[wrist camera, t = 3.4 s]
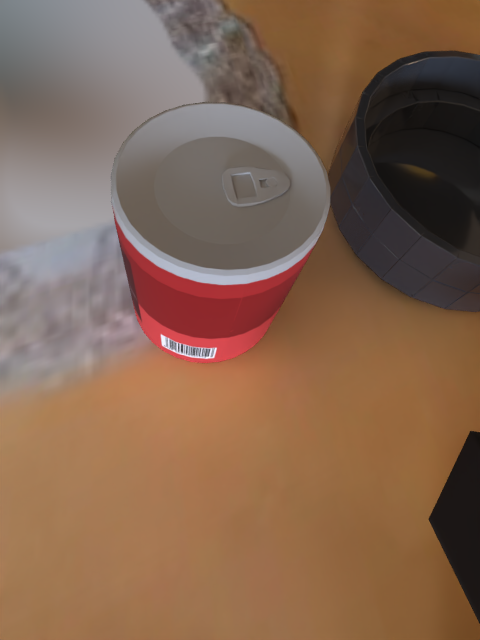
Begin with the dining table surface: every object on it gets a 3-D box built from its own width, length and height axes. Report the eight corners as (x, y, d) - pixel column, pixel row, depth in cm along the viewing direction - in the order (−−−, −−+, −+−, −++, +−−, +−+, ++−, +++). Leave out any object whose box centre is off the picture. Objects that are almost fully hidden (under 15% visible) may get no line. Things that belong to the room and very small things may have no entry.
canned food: (295, 331, 26) (373, 226, 16) (170, 393, 24) (167, 315, 14) (234, 228, 28) (268, 77, 18) (113, 275, 26) (73, 132, 16)
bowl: (283, 152, 31) (304, 85, 26) (456, 95, 36) (503, 28, 30) (414, 355, 27) (471, 322, 22) (593, 261, 31) (674, 215, 26)
